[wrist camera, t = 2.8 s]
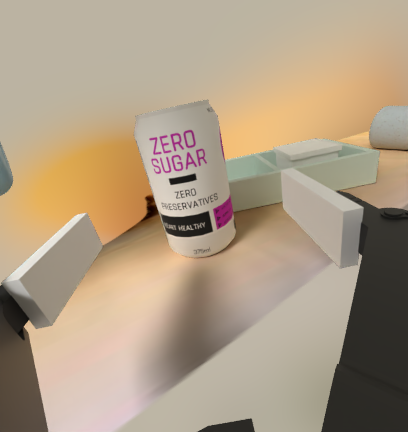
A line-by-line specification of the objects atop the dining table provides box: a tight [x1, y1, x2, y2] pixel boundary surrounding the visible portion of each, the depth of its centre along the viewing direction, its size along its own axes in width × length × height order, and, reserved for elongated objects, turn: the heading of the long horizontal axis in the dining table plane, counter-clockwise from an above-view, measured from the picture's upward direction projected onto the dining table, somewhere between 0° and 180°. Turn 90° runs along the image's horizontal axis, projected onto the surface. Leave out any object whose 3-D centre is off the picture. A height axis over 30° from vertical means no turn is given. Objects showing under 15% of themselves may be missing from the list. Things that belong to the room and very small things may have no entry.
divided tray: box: [225, 139, 380, 212], centre depth 38 cm, size 27×14×4 cm, turn 93°
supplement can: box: [134, 100, 236, 258], centre depth 25 cm, size 8×8×15 cm
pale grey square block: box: [273, 138, 342, 170], centre depth 37 cm, size 8×8×5 cm
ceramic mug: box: [369, 106, 408, 150], centre depth 42 cm, size 11×8×8 cm
